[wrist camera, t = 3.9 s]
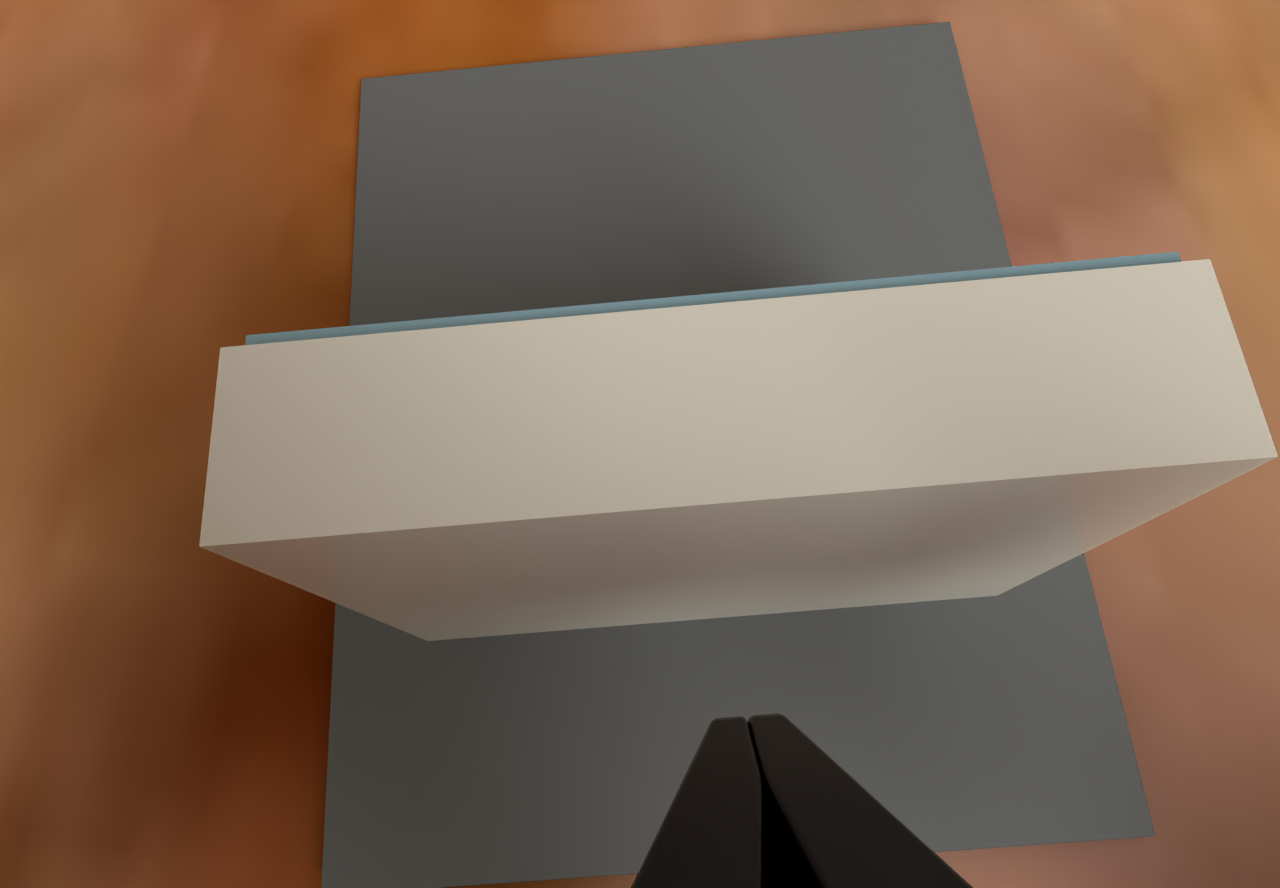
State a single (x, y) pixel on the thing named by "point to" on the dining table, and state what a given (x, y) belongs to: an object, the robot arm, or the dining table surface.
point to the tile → (728, 446)
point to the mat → (718, 647)
